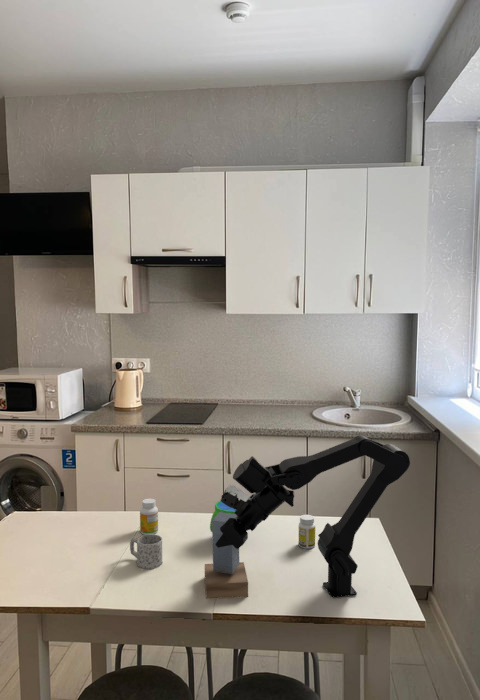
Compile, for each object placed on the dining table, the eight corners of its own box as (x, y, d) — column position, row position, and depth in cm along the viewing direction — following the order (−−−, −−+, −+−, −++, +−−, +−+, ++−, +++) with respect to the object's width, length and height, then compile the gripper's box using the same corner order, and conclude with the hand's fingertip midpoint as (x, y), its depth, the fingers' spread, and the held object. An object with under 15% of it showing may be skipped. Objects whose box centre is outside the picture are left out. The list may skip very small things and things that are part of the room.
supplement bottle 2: (314, 542, 163) (315, 514, 162) (315, 549, 158) (315, 520, 158) (298, 541, 164) (298, 513, 163) (298, 548, 159) (298, 520, 158)
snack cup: (243, 525, 175) (243, 493, 174) (264, 537, 166) (264, 504, 165) (200, 538, 165) (200, 504, 164) (220, 551, 157) (220, 516, 156)
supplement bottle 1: (138, 529, 171) (137, 499, 170) (155, 526, 173) (154, 496, 172) (142, 536, 166) (142, 505, 165) (160, 533, 168) (160, 502, 167)
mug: (167, 561, 151) (167, 537, 150) (151, 571, 145) (151, 547, 145) (138, 552, 156) (138, 529, 155) (122, 562, 150) (122, 538, 150)
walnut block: (248, 598, 134) (248, 582, 133) (206, 600, 133) (206, 584, 132) (243, 577, 144) (243, 562, 143) (204, 578, 143) (204, 563, 142)
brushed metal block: (239, 564, 139) (238, 514, 138) (232, 574, 135) (231, 522, 133) (220, 561, 141) (219, 512, 139) (213, 571, 136) (212, 520, 135)
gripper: (252, 465, 143) (212, 502, 147) (228, 490, 125) (183, 531, 130) (282, 499, 141) (240, 535, 146) (262, 528, 124) (215, 568, 128)
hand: (220, 541), depth 137 cm, fingers closed on brushed metal block, 5 cm apart
